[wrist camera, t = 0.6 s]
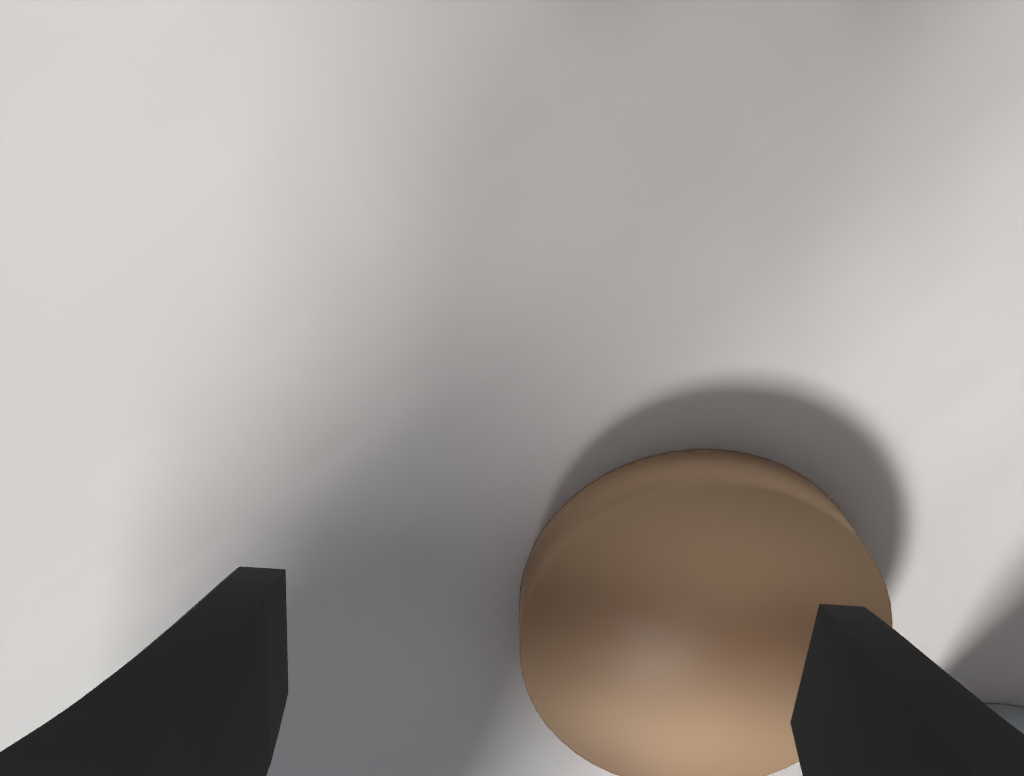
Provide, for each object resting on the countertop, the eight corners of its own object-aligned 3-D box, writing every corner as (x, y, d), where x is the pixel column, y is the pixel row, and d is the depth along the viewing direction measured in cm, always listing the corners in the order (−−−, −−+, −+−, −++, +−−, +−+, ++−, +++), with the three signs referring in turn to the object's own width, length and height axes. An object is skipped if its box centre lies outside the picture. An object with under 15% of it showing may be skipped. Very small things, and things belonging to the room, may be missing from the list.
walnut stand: (823, 747, 26) (844, 799, 24) (504, 725, 25) (504, 775, 24) (904, 465, 22) (935, 501, 20) (537, 434, 22) (539, 469, 20)
